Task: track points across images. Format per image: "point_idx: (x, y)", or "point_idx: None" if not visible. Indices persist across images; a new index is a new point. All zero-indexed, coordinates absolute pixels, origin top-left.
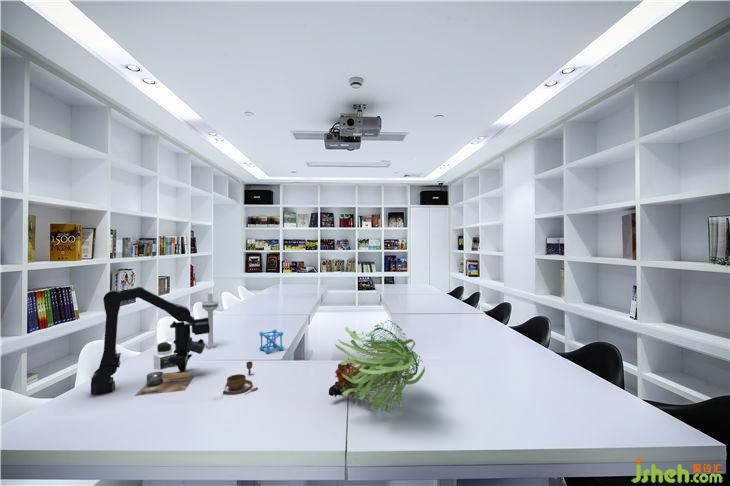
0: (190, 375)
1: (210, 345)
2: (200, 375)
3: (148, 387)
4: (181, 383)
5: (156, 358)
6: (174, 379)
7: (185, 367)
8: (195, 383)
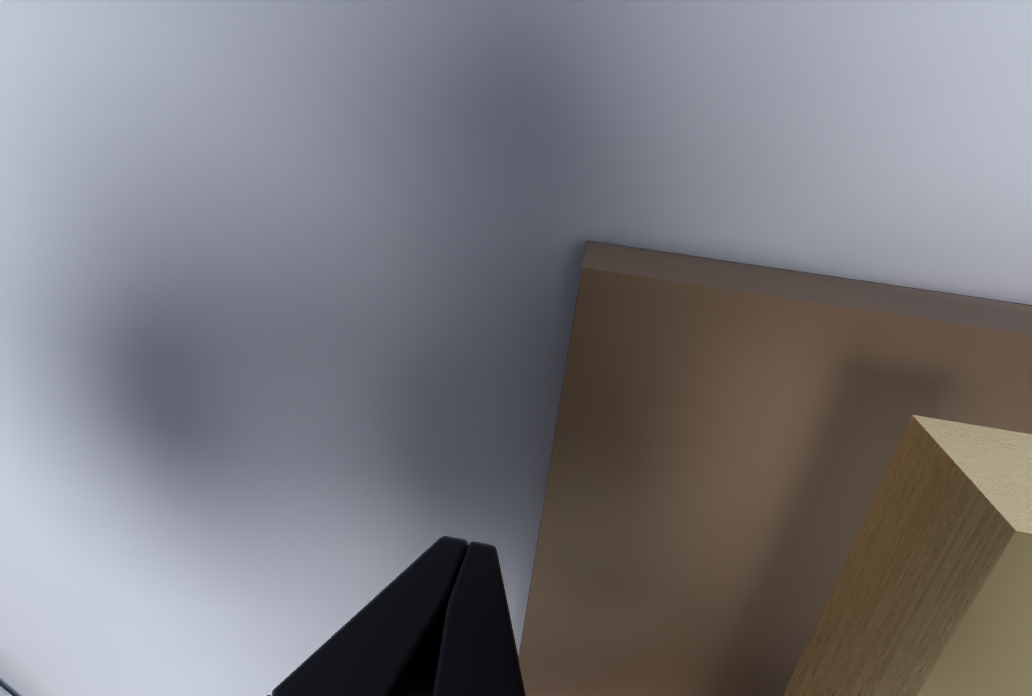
0: (965, 424)
1: None
2: (297, 112)
3: None
4: None
5: None
6: (605, 650)
7: (465, 689)
8: (901, 192)
